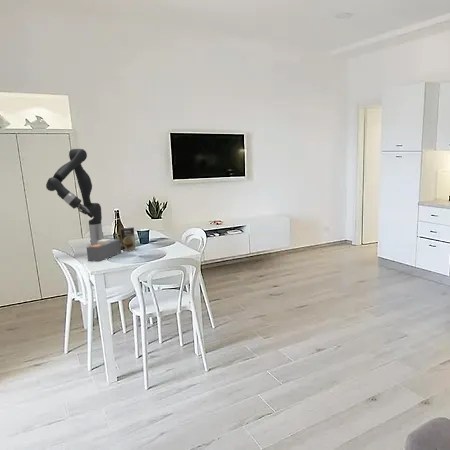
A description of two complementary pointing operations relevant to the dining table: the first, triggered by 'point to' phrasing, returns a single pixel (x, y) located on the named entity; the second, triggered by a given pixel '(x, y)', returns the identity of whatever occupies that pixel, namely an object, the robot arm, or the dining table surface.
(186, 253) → the dining table surface
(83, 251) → the dining table surface
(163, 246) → the dining table surface
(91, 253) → the block
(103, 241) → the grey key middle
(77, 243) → the dining table surface
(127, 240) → the coffee box
